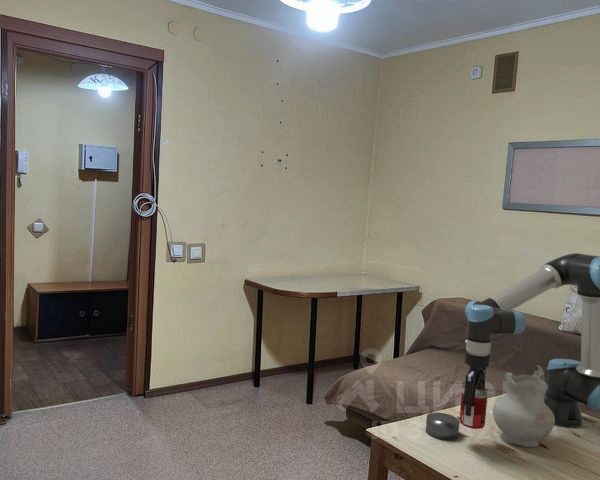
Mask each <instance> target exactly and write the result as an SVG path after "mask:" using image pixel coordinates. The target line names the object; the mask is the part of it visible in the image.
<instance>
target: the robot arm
mask: <svg viewBox="0 0 600 480" xmlns="http://www.w3.org/2000/svg"><path fill="white" fill-rule="evenodd" d="M567 285H568V286H570V285H571V286H575V287H576V295H577V296H578V297H579V298H581V324H580V325H581V326H580V327H581V328H580V330H581V335H580V337H581V338H580V341H581V342H580V345H581V346H580V361H579V360H575V359H569V358H568V359H567V358H553V359H550V360H549V362H548V365H547V368H546V369H547V371H546V378H545V379H546V382H545V383H546V384H547V385H548V389H547V391H546V392H545V394H544V402H545V404H546V405H547V406H548V407H549V408H550V410H551V411H552V412H553V414H554V417H555V424H554V426H558V427H559V426H560V427H563V428H579V427H581V426H582V424H583V415H582V411H581V406H580V404H583V405H584V406H587V407H589V408H590V409H593V410H596V411H599V412H600V256H599V255H591V254H583V253H576V252H575V253H569V254H566V255H562V256H560V257H559V256H558V257H557V258H554V259H552V260H550V261H548V262H546V263H545V264H543V265H541V267H540V268H539V270H537V271H536V272H534V273H532V274H530V275H528V276H526V277H525V278H523V279H521V280H519V281H517V282H515V283H513V284H512V285H510V286H508V287H507V288H505V289H502V290H500V291H499V292H497V293H496V294H493V295H492V296H489V297H488V298H486V299H484V300H482V301H480V300H477V301H476V300H472V301H469V302H468V303H467V304H466V307H465V310H464V311H465V312H464V313H465V316H466V319H467V330H466V331H467V332H466V340H465V341H464V343H465V344H466V345H465V350H466V352H465V355H464V357H465V358H464V363H465V364H466V365H467V366H469V369H468V373H466V374H465V383H464V388H465V390H464V398H463V402H462V404H463V405H465V412H464V424H466V425H469V426H473V415H474V406H473V403H474V398H475V393H476V389H479V390H483V391H485V392H486V373H487V367H488V368H489V365H490V361H491V360H490V358H491V357H490V354H491V349H492V347H491V345H492V336H497V335H498V336H501V335H502V336H503V335H505V336H506V335H511V336H512V335H518V334H521V333H523V332H524V331H525V328H526V318H525V316H524V315H523V313H522V312H520V311H516V310H514V309H516V308H519V307H520V306H521V305H524V304H526V303H527V302H529V301H531V300H533V299H535V298H536V297H538V296H540V295H542V294H544V293H546V292H548V291H549V290H551V289H559V288H561V287H564V286H567Z"/></svg>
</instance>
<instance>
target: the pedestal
mask: <svg viewBox="0 0 600 480" xmlns="http://www.w3.org/2000/svg"><path fill="white" fill-rule="evenodd" d="M425 421H426V422H425V434H427V435H428V436H430V437H431V438H433V439H436V440H439V441H440V440H441V441H448V442H449V441H454V440H457V439H458V438H459V432H460V424H461V423H460V419H458V418H457V416H454V415H451V414H449V413H445V412H431V413H428V414H427V415H426V420H425Z"/></svg>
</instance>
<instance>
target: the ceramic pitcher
mask: <svg viewBox="0 0 600 480" xmlns="http://www.w3.org/2000/svg"><path fill="white" fill-rule="evenodd" d="M504 378H505V381H506V385H507V393H506V394H505V395H504V396H501V397H499V398H497V399H496V400H495V401H494V403H493V406H492V407H493V408H492V416H493V420H494V422H495V424H496V426H497V428H498V429H499V430H500V431H501V432H503V433H502V435H501V437H500V438H501V440H502V442H504V443H506V444H507V443H508V444H512V445H518V446H521V447H526V448H536V447H539V446H540V443H539V441H541V440H544V439H545V438H547V437H548V436H549V435H550V434H551V432H552V431H553V429H554V426H555V417H554V414H553V412H552V411H551V410H550V408H549V407H548V406H547V405H546V404H545V402H544V397H545V392H546V391H547V389H548V385H547V384H546V382H545V373H544V369H543V367H542V366H541V365H539V364H538V365H537V364H536V365H535V366H534V371H533V374H532V375H531V374H530V375H529V374H528V375H527V374H521V375H518V376H516V375H515V374H513V373H512V372H509V371H505V374H504Z"/></svg>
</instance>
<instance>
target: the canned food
mask: <svg viewBox="0 0 600 480" xmlns="http://www.w3.org/2000/svg"><path fill="white" fill-rule="evenodd" d="M464 390H465V387H464V388H462V389H461V396H460V398H461V399H460V408H459V422H460V423H459V424H461V425H462V426H463V427H466V428H469V429H473V430H474V429H475V430H480V429H483V428H485V425H486V417H487V416H486V415H487V407H488V406H487V404H488V393H487V391H486V390H485V391H483V390H479V389H476V393H475V398H474V403H473V406H474V415H473V426H469V425H466V424H464V412H465V405H463V404H462V402H463V398H464Z"/></svg>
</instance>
